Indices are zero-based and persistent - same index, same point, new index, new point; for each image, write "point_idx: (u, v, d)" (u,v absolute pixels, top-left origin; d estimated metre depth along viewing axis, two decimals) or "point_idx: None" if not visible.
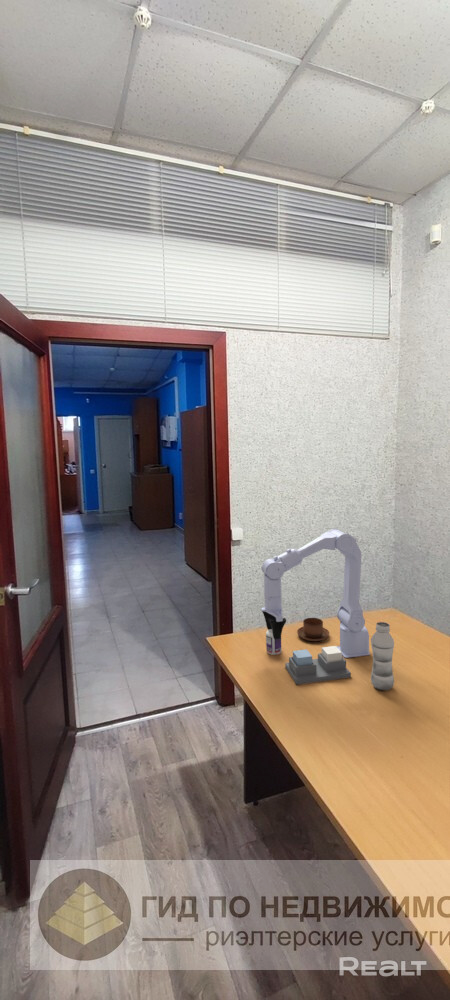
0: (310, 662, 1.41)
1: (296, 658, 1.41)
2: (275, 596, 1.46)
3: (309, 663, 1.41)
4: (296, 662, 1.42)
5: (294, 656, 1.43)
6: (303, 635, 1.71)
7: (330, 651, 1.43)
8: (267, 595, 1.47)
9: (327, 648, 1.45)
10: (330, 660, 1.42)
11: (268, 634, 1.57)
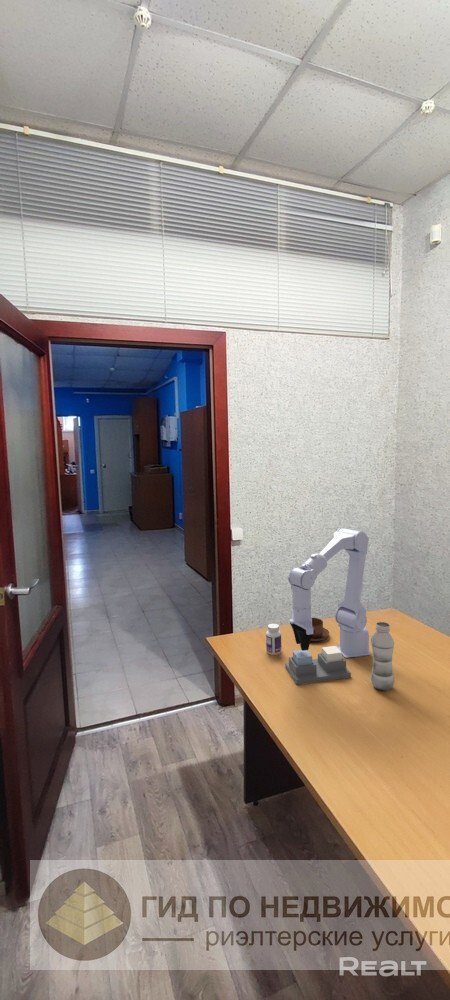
0: (310, 662, 1.41)
1: (296, 658, 1.41)
2: (308, 606, 1.38)
3: (309, 663, 1.41)
4: (296, 662, 1.42)
5: (294, 656, 1.43)
6: None
7: (330, 651, 1.43)
8: (300, 607, 1.38)
9: (327, 648, 1.45)
10: (330, 660, 1.42)
11: (268, 634, 1.57)
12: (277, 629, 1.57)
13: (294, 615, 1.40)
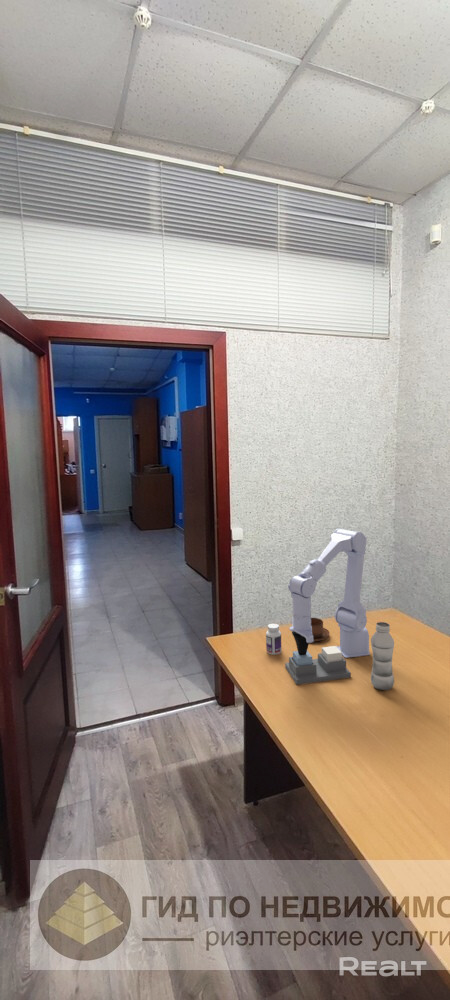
0: (310, 662, 1.41)
1: (296, 659, 1.41)
2: (308, 614, 1.38)
3: (309, 663, 1.41)
4: (296, 663, 1.42)
5: (294, 656, 1.43)
6: None
7: (330, 651, 1.43)
8: (300, 615, 1.38)
9: (327, 648, 1.45)
10: (330, 660, 1.42)
11: (268, 634, 1.57)
12: (277, 629, 1.57)
13: (294, 623, 1.40)
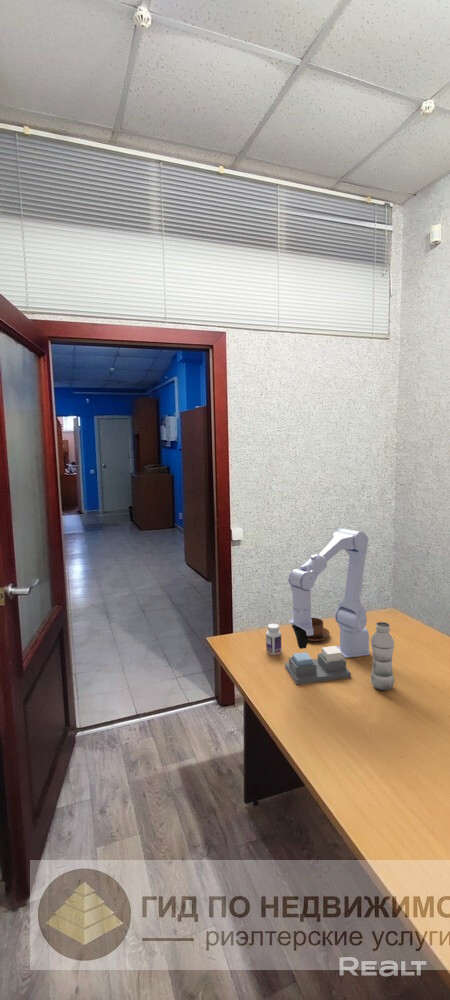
0: None
1: (296, 661, 1.41)
2: (308, 607, 1.38)
3: None
4: None
5: (294, 659, 1.43)
6: None
7: (330, 651, 1.43)
8: (300, 608, 1.38)
9: (327, 648, 1.45)
10: (330, 660, 1.42)
11: (268, 634, 1.57)
12: (277, 629, 1.57)
13: (294, 616, 1.40)
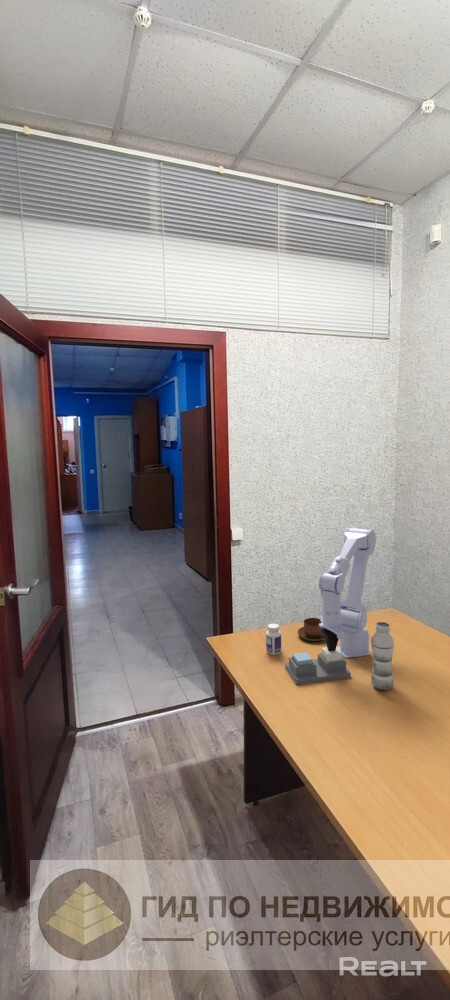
0: None
1: (296, 661, 1.41)
2: (339, 610, 1.41)
3: None
4: None
5: (294, 659, 1.43)
6: (304, 635, 1.70)
7: (330, 651, 1.43)
8: (333, 611, 1.40)
9: (327, 648, 1.45)
10: (330, 660, 1.42)
11: (268, 634, 1.57)
12: (277, 629, 1.57)
13: (324, 619, 1.42)
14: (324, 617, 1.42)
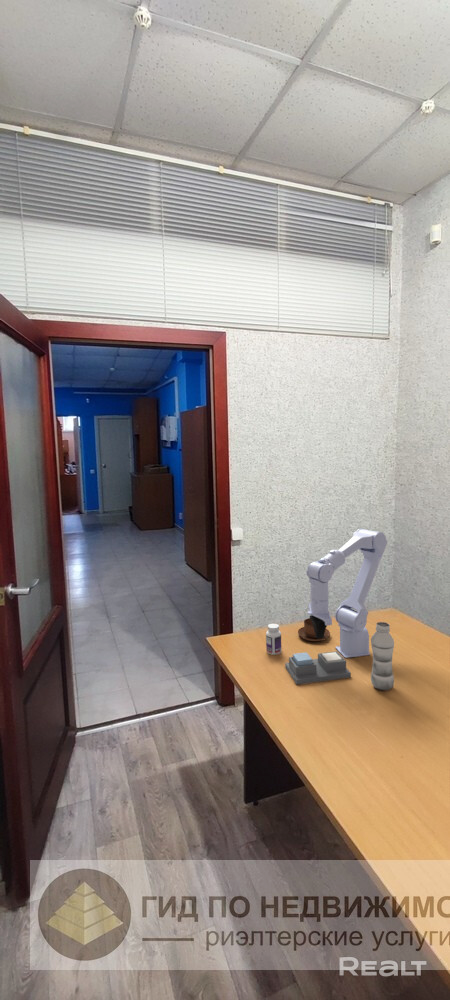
0: None
1: (296, 661, 1.41)
2: (325, 599, 1.44)
3: None
4: None
5: (294, 659, 1.43)
6: (304, 635, 1.70)
7: (330, 658, 1.44)
8: (317, 599, 1.44)
9: (327, 654, 1.46)
10: None
11: (268, 634, 1.57)
12: (277, 629, 1.57)
13: (312, 607, 1.45)
14: (312, 605, 1.45)
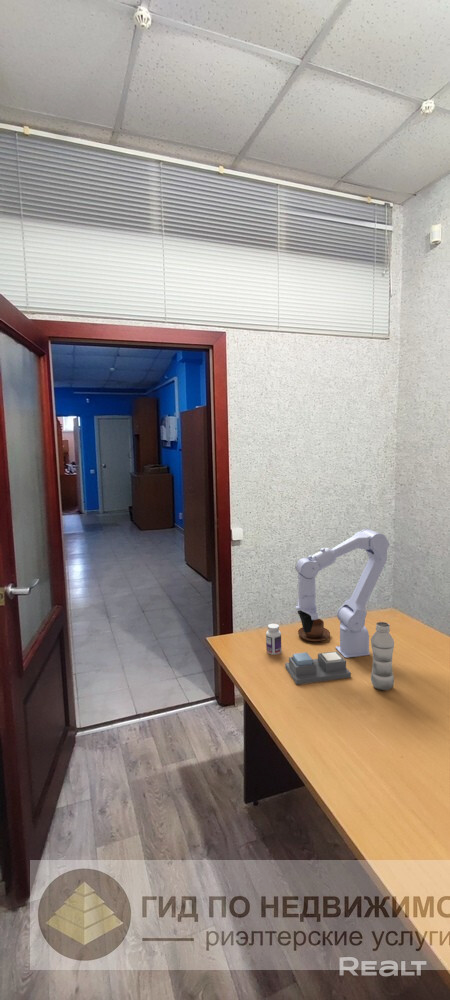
0: None
1: (296, 661, 1.41)
2: (310, 595, 1.48)
3: None
4: None
5: (294, 659, 1.43)
6: (304, 635, 1.70)
7: (330, 658, 1.44)
8: (302, 594, 1.49)
9: (327, 654, 1.46)
10: None
11: (268, 634, 1.57)
12: (277, 629, 1.57)
13: (300, 602, 1.50)
14: (300, 600, 1.50)
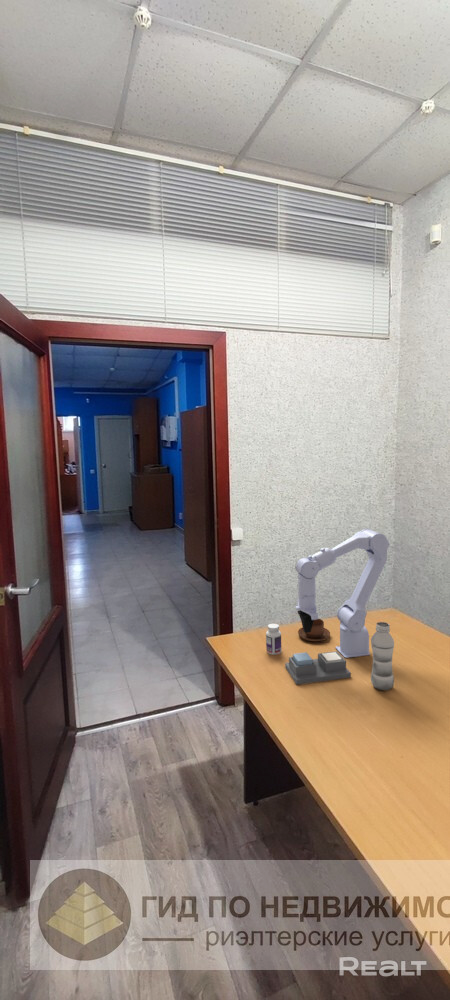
0: None
1: (296, 661, 1.41)
2: (310, 595, 1.48)
3: None
4: None
5: (294, 659, 1.43)
6: (304, 635, 1.70)
7: (330, 658, 1.44)
8: (302, 594, 1.49)
9: (327, 654, 1.46)
10: None
11: (268, 634, 1.57)
12: (277, 629, 1.57)
13: (300, 602, 1.50)
14: (300, 600, 1.50)
